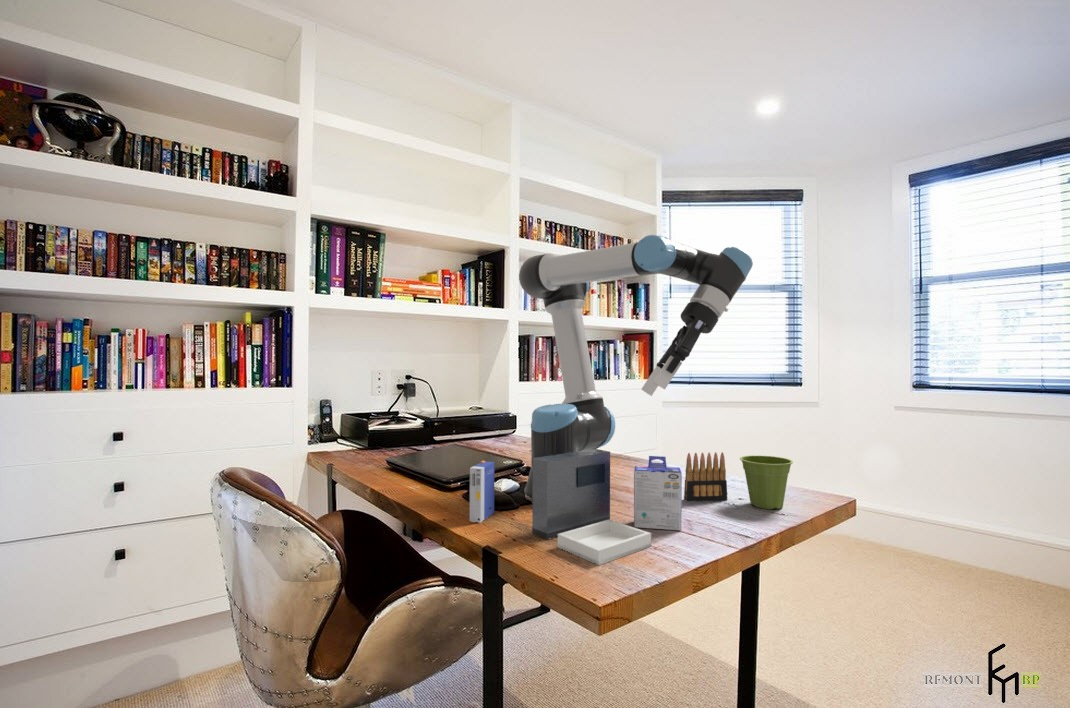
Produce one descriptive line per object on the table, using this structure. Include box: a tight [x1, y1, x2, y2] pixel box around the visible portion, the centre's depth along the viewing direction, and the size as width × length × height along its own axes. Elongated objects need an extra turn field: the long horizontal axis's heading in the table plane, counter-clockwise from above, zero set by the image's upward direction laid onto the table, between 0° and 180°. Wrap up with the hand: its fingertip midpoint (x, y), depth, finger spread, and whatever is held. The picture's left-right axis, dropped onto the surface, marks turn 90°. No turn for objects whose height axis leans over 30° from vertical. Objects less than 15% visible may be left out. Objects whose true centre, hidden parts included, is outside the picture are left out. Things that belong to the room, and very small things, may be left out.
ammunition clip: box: [683, 452, 728, 503], centre depth 129 cm, size 11×2×12 cm, turn 96°
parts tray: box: [557, 518, 652, 566], centre depth 96 cm, size 11×14×2 cm
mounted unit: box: [531, 448, 611, 540], centre depth 107 cm, size 5×18×15 cm, turn 129°
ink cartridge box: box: [633, 455, 683, 531], centre depth 108 cm, size 10×6×14 cm, turn 78°
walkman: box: [469, 460, 495, 524], centre depth 114 cm, size 8×3×12 cm, turn 162°
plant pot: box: [739, 455, 794, 510], centre depth 124 cm, size 12×12×11 cm
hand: (652, 389), depth 110 cm, fingers open, 13 cm apart
